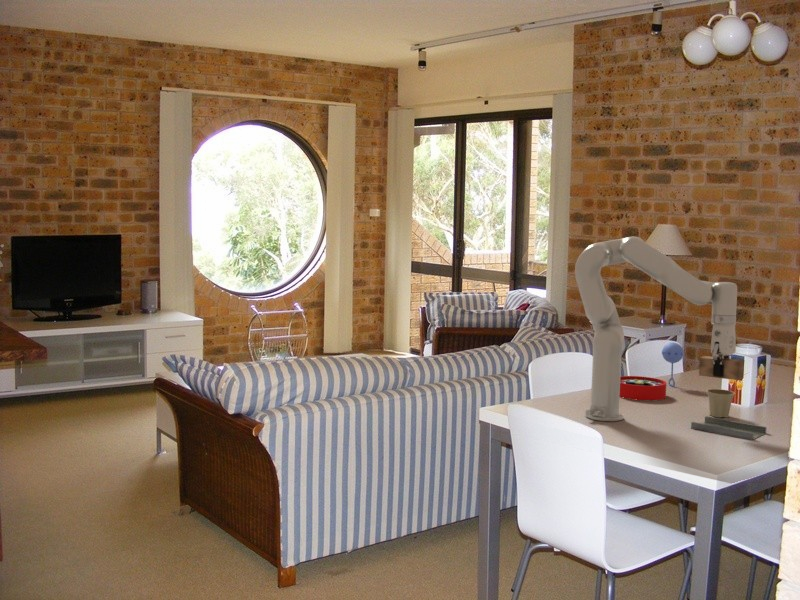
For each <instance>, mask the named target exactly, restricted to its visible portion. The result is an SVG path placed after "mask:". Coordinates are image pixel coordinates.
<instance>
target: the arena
mask: <svg viewBox="0 0 800 600" xmlns="http://www.w3.org/2000/svg"><path fill="white" fill-rule="evenodd" d="M690 424H691V425H690V428H691V429H693V430H698V431H704V432H709V433H713V434H714V433H715V434H719V435H724V436H730V437H735V438H739V439H740V438H741V439H745V440H746V439H747V440H751V441H753V440H755V439H758V438H760V437H761V436H763V435H765V434H767V426H764V425H759V424H758V425H756V424H751V423H746V422H741V421H737V420H736V421H735V420H730V419H725V418H724V419H723V418H720V417H714V416H712V417H711V416H707V415H706V416H705V417H704V421H703V422H696V421H691V423H690Z"/></svg>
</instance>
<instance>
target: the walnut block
mask: <svg viewBox="0 0 800 600" xmlns="http://www.w3.org/2000/svg"><path fill="white" fill-rule="evenodd" d="M720 359H721V357H720ZM713 361H714V360H713V357H712V356H709V355H702V356H700V357H699V364H698V365H699V367H698V368H699V369H698V376H701V377H707V378H716V379H717V378H718V379H726V380H733V381H742V380H743V379H744V377H745V375H744V374H745V373H744V372H745V359H738V358H730V359H729V358H724V359H723V365H724V375H723V377H718V376H713V366H714V364H713Z"/></svg>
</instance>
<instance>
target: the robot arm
mask: <svg viewBox="0 0 800 600" xmlns="http://www.w3.org/2000/svg"><path fill="white" fill-rule="evenodd" d="M623 263H624V264H625V263H629V264H630V265H632V266H633V267H635V268H637V269H639V270H640V271H642V272H643V273H645V274H646V275H648V276H649V277H650V278H652V279H654V280H656V281H657V282H658V283H660V284H661V285H663V286H664V287H667V288H669V289H670V290H671V291H673V292H674V293H675V294H677V295H679V296H680V297H682V298H684V299H685V300H686V301H688V302H690V303H691V304H693V305H695V306H704V305H706V304H709V303H711V319H710V320H711V323H710V324H711V325H712V332H711V342H710V351H711V352H710V353H711V354H712V355H711V357H713V360H714V361H713V364H714V366H713V376H718V377H723V375H724V365H723V359H724V358H729V359H731V355H733V354H735V353H736V348H737V346H736V345H737V344H736V338H737V337H736V335H737V333H736V324H737V305H738V303H737V302H738V301H737V300H738V286H737V285H738V284H736V283H734V282H731V281H717V282H713V281H707V280H700V279H699V278H697V277H696V276H694V275H692V274H691V273H690V272H688V271H686V270H685V269H684V268H682V267H681V266H680V265H679V264H677V262H675V260H673V258H671V257H669V256H667V255H666V254H665V253H663V252H661V251H659V250H657V248H655V247H653V246H652V245H650V244H648V243H647V242H645V241H644V240H643V239H642V238H641V237H639V236H633V235H632V236H627V237H623V238H618V239H611V240H607V241H600V242H599V241H598V242H594V243H592V244H590V245H588V246H587V247H586V248H585V249H584V250H583V251H581V253H580V254H579V256H578V257H577V260H576V263H575V267H574V277H575V281H576V284H577V287H578V291H579V295H580V298H581V302H582V305H583V308H584V312H585V316H586V317H587V319H588V320H589V321H590V322H591V325H592V328H593V330H594V335H593V340H592V368H591V371H592V372H591V387H590V389H591V392H590V407H589V409H586V410H585V411H584V412H585V417H586V418H587V419H590V420H594V421H600V422H618V421H622V420H623V419H624V415H623V414H622V413H621V412H620V379H621V376H622V373H621V372H622V354H623V353H622V352H623V351H622V349H623V343H624V341H625V332H624V329H623V327H622V323H621V320H620V317H619V313H618V310H617V307H616V305H615V302H614V300H613V299H612V298H611V297H610V296H609V295H608V293H607V291H606V290H607V289H606V288H605V284H604V280H603V278H602V274H601V271H602V268H603V267H606V266H613V265H619V264H623ZM720 358H721V359H720Z"/></svg>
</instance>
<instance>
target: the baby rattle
mask: <svg viewBox="0 0 800 600" xmlns="http://www.w3.org/2000/svg"><path fill="white" fill-rule="evenodd" d="M662 347H663V348H662V350H661V355H662V358H663V359H664V360H665V361H666V362H668V363H669V364H671V372H670V373H671V375H670V379H669V380H668V383H667V384H668V386H670V387H675V386H676V381H675V379H674V377H673V376H674V375H673V374H674V364H676V363H679V362H680V361H681V360H682V359H683V357H684V355H685V351H684V348H683V347H682V346H681V344H679V343H677V342H674V341H672V342H668V343H667V344H665V345H664V346H662ZM671 381H672V383H671Z"/></svg>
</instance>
